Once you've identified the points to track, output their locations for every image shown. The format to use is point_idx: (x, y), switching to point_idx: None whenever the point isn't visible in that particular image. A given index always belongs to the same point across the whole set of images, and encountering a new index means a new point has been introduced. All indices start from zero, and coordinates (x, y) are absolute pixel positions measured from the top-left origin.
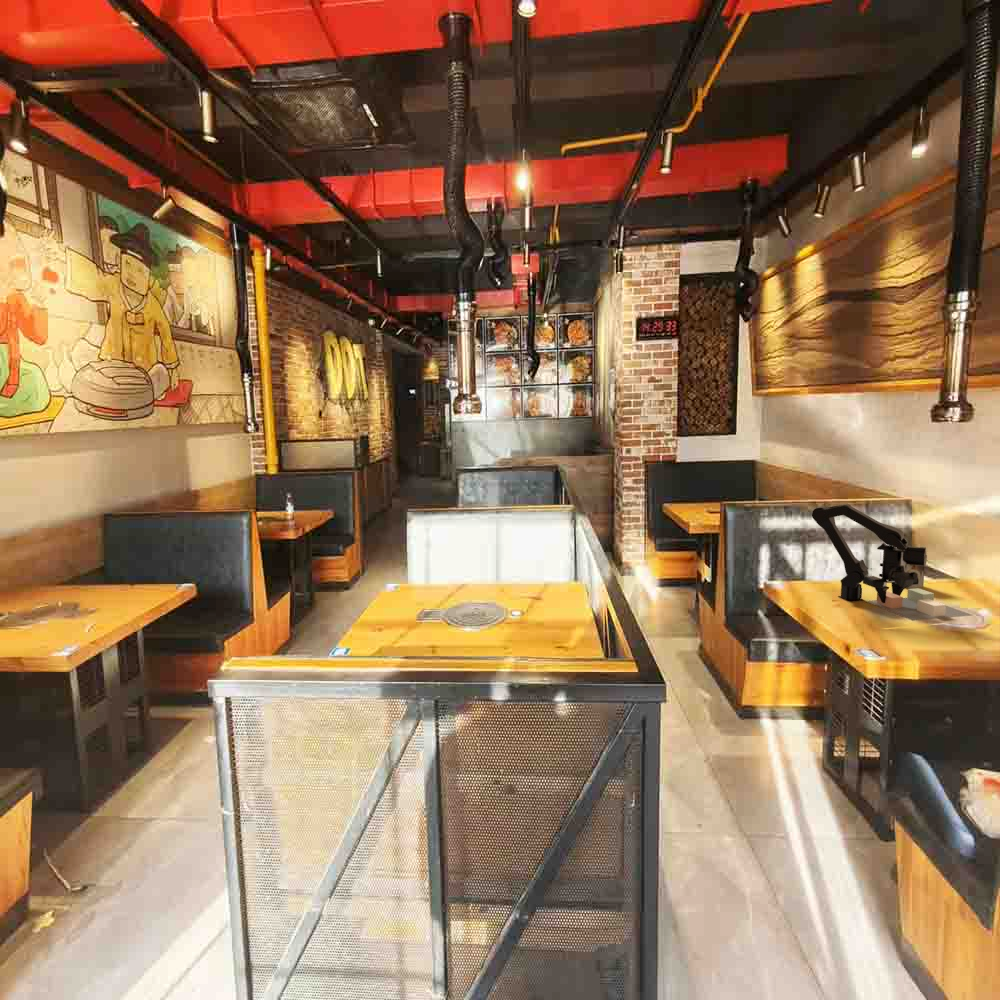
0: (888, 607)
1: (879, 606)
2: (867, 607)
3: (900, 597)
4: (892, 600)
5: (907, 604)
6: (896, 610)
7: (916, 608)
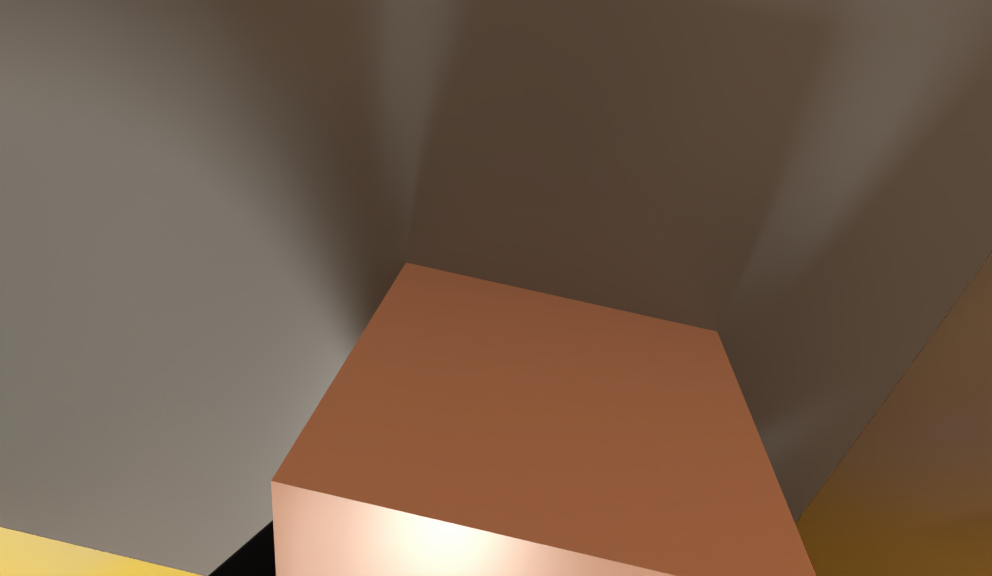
0: None
1: (791, 494)
2: (971, 563)
3: (387, 499)
4: (745, 497)
5: (140, 330)
6: (785, 167)
7: (122, 45)
